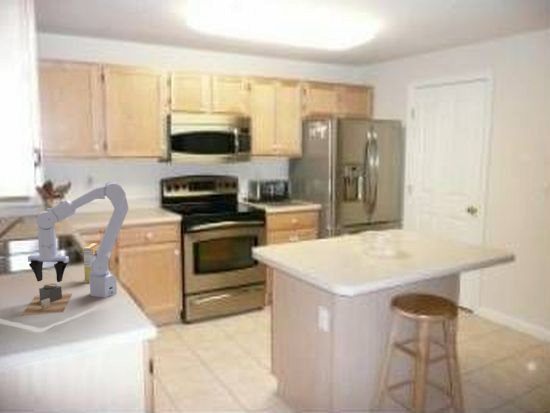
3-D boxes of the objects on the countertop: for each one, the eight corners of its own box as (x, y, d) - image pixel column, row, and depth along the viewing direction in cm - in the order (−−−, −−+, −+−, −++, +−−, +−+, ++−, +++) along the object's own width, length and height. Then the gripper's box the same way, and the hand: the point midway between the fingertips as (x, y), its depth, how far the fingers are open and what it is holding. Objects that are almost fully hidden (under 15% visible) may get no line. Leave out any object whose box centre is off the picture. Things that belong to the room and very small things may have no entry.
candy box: (93, 277, 204) (91, 243, 202) (102, 277, 204) (101, 243, 202) (84, 283, 195) (82, 247, 193) (94, 283, 195) (92, 247, 193)
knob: (62, 298, 174) (61, 284, 173) (50, 302, 169) (49, 288, 168) (52, 296, 176) (51, 282, 175) (40, 300, 171) (39, 286, 170)
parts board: (35, 298, 176) (35, 295, 176) (72, 295, 180) (72, 292, 180) (21, 318, 156) (20, 315, 156) (63, 315, 160) (63, 312, 159)
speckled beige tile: (50, 306, 165) (49, 298, 164) (43, 309, 162) (43, 300, 162) (48, 306, 165) (47, 298, 165) (41, 308, 162) (40, 300, 162)
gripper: (72, 242, 173) (74, 278, 175) (35, 241, 174) (37, 277, 176) (62, 247, 166) (64, 284, 168) (23, 245, 167) (25, 282, 169)
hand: (49, 281), depth 171 cm, fingers open, 7 cm apart
